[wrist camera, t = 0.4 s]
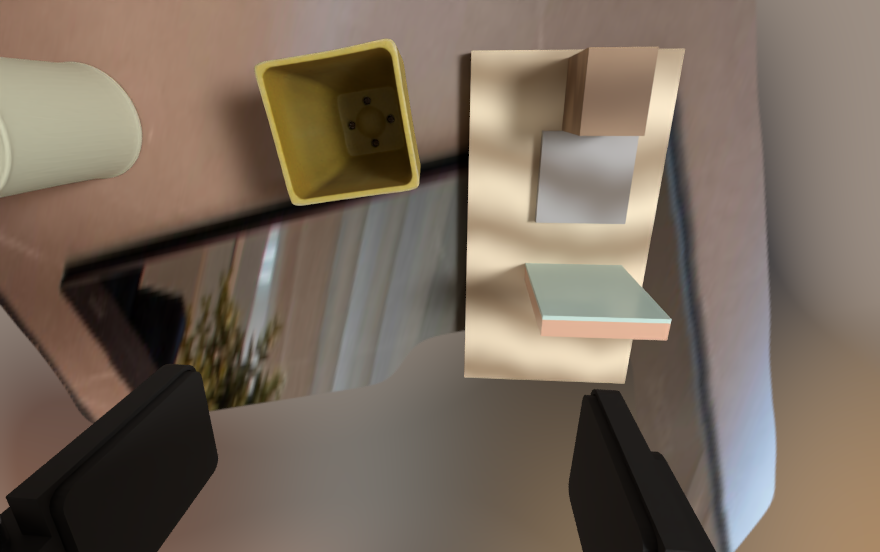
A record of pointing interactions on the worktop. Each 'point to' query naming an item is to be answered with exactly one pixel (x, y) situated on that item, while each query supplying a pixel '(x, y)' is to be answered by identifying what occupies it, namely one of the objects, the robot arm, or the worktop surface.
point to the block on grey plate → (596, 137)
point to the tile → (592, 303)
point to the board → (524, 241)
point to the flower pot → (341, 122)
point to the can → (62, 125)
